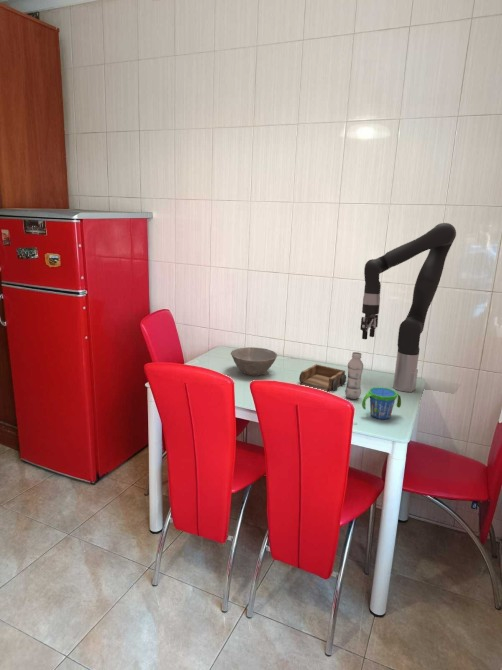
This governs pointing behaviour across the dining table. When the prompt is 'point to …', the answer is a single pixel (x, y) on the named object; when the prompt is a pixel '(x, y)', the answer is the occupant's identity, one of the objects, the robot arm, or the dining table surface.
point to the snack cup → (381, 402)
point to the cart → (323, 377)
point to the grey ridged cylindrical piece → (354, 376)
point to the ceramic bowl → (253, 360)
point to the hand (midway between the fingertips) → (368, 338)
